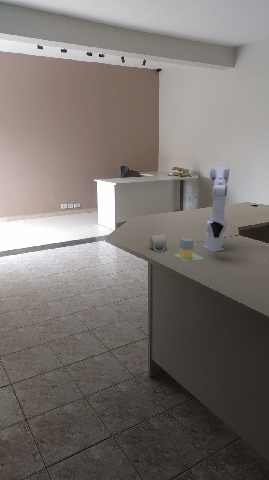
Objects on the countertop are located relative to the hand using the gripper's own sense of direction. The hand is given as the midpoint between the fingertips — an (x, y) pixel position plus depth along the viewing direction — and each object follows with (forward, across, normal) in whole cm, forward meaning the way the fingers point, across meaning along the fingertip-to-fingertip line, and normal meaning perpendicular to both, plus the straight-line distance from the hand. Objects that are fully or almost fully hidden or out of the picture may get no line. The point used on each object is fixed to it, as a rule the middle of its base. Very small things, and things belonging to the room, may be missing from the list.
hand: (216, 237), depth 178 cm
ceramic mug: (+11, -22, -21) cm, 32 cm away
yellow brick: (+10, -4, -14) cm, 18 cm away
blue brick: (+6, -4, -14) cm, 15 cm away
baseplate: (+10, -5, -12) cm, 17 cm away
